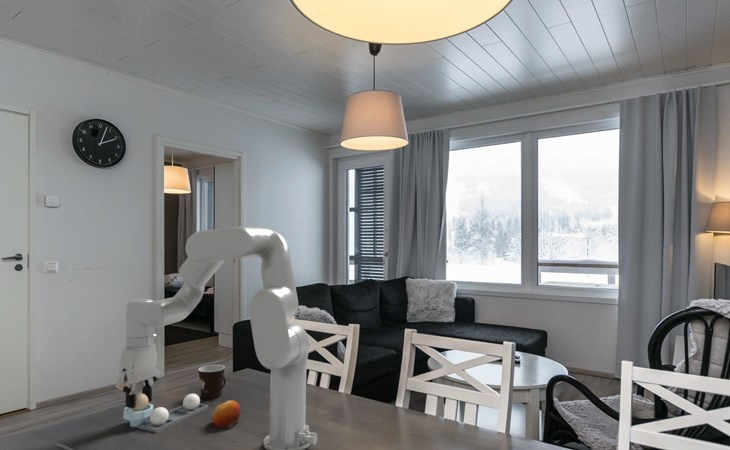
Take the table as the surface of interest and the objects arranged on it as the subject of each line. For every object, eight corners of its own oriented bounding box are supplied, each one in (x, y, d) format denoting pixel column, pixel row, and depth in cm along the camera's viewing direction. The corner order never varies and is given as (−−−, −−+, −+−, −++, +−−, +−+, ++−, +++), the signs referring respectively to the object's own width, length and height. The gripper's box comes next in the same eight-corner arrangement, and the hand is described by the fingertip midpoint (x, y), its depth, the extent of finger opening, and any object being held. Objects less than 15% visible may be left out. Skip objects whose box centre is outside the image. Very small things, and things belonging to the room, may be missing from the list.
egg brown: (139, 406, 136) (140, 389, 136) (151, 409, 134) (152, 392, 134) (125, 412, 131) (125, 395, 131) (137, 415, 129) (137, 397, 129)
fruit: (238, 427, 128) (225, 401, 129) (216, 439, 130) (203, 414, 131) (251, 416, 136) (238, 392, 137) (230, 428, 138) (218, 404, 139)
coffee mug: (196, 395, 158) (197, 366, 158) (222, 392, 162) (223, 363, 162) (199, 406, 148) (200, 375, 148) (227, 402, 151) (227, 372, 152)
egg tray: (208, 409, 145) (208, 404, 145) (156, 434, 127) (156, 429, 127) (191, 405, 148) (191, 401, 148) (137, 430, 129) (137, 425, 129)
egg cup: (159, 422, 134) (159, 405, 135) (136, 433, 127) (136, 414, 127) (140, 418, 138) (140, 401, 138) (116, 428, 130) (117, 410, 131)
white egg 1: (172, 424, 132) (172, 406, 133) (157, 428, 128) (158, 409, 129) (160, 422, 135) (161, 404, 136) (145, 426, 130) (146, 408, 131)
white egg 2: (203, 408, 145) (203, 392, 145) (191, 413, 140) (191, 397, 140) (191, 406, 147) (191, 390, 147) (179, 411, 142) (179, 395, 142)
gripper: (154, 334, 142) (153, 393, 142) (104, 346, 127) (103, 412, 126) (172, 336, 139) (171, 396, 139) (123, 349, 124) (122, 416, 123)
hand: (138, 403), depth 133 cm, fingers closed on egg brown, 4 cm apart
